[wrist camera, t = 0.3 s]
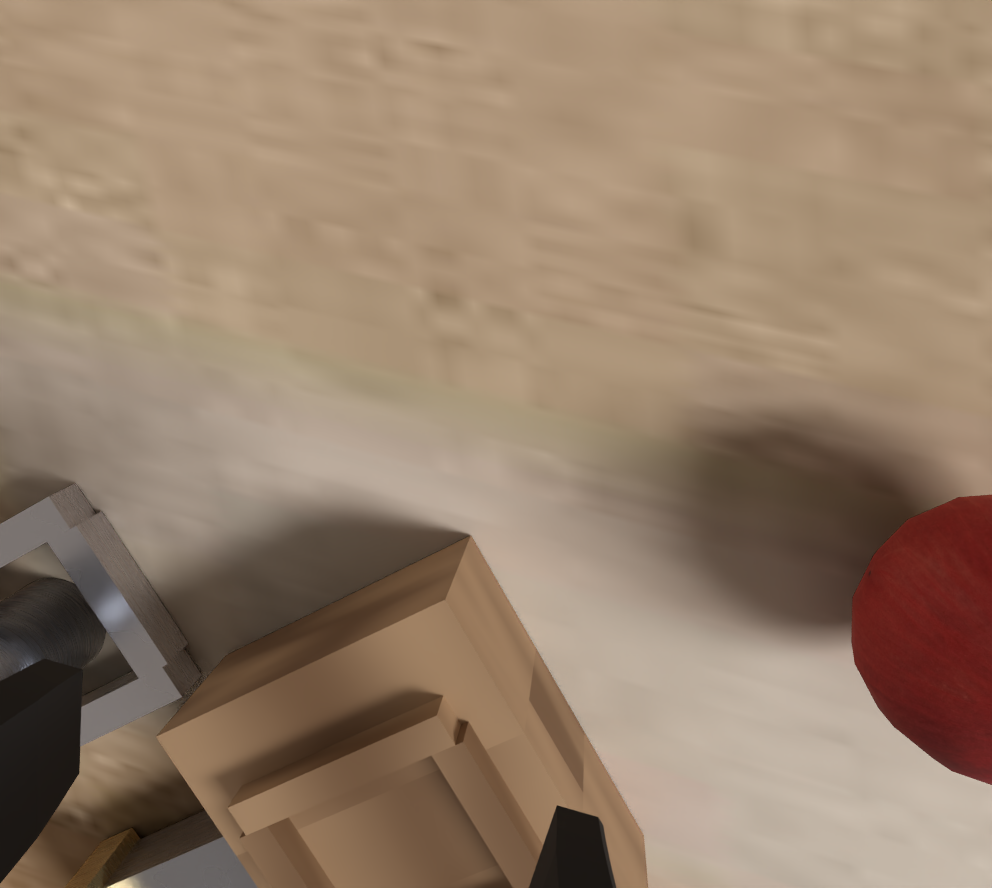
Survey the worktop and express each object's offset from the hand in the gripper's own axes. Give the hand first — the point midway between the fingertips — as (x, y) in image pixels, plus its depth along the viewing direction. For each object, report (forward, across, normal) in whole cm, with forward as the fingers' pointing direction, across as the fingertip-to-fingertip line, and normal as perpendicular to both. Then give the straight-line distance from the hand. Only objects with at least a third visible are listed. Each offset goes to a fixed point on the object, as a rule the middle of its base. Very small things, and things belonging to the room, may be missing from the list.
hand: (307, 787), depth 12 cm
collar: (+10, +10, +7) cm, 15 cm away
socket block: (+9, -1, +7) cm, 12 cm away
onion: (+11, -12, -1) cm, 16 cm away
